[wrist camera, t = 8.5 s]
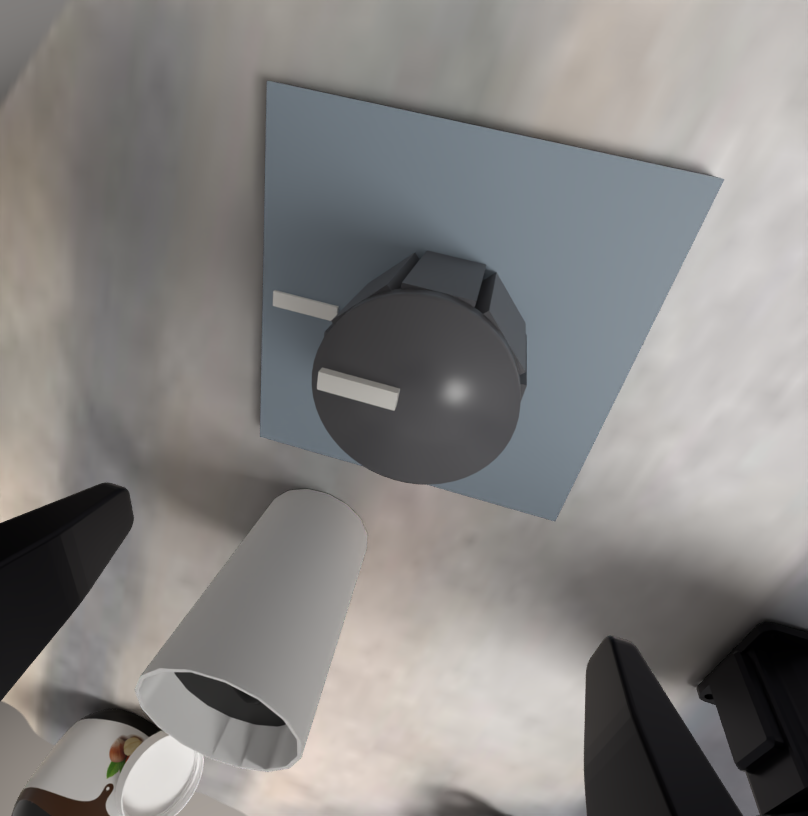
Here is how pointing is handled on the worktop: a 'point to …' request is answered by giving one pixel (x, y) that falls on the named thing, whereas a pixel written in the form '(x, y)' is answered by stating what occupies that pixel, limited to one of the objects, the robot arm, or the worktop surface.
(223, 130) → the worktop surface
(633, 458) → the worktop surface
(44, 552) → the robot arm
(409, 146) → the base plate
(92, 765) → the spread jar
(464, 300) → the knob
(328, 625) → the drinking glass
